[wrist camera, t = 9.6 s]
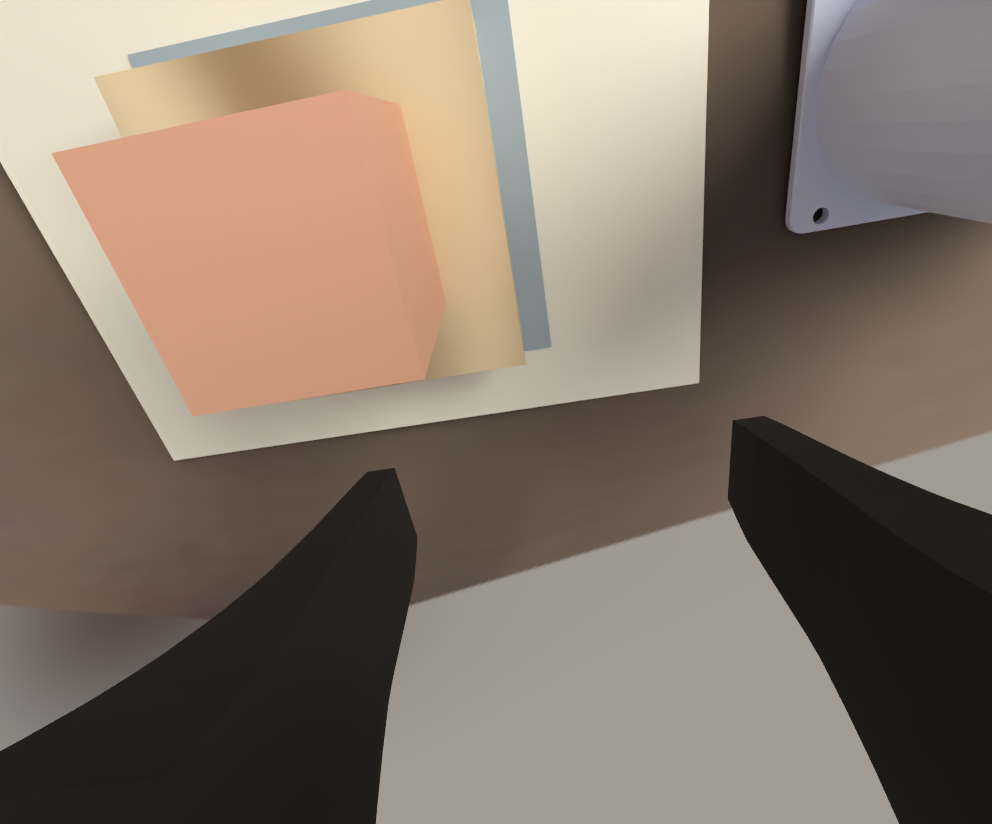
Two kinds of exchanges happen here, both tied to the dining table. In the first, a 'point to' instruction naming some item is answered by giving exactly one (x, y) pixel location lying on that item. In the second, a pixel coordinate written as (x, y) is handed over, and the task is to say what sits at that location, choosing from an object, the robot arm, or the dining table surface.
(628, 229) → the board
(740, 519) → the robot arm
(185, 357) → the terracotta cube
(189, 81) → the oak base brick
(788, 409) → the dining table surface
